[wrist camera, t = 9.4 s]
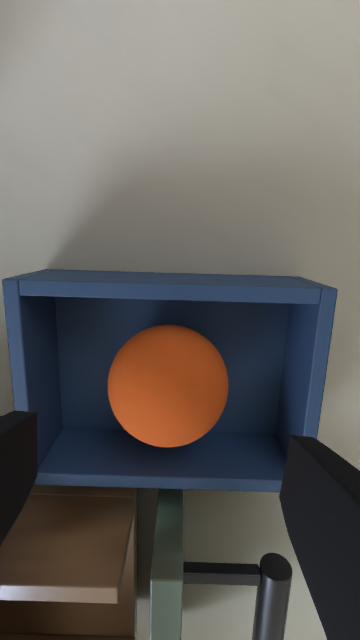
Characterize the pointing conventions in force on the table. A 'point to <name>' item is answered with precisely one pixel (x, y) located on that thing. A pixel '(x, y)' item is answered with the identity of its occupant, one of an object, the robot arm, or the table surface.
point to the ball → (168, 385)
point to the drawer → (113, 569)
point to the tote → (173, 309)
